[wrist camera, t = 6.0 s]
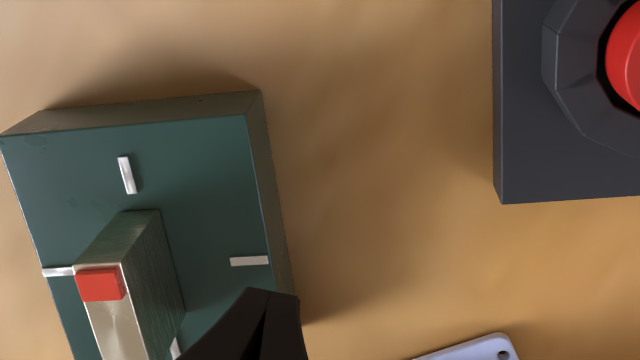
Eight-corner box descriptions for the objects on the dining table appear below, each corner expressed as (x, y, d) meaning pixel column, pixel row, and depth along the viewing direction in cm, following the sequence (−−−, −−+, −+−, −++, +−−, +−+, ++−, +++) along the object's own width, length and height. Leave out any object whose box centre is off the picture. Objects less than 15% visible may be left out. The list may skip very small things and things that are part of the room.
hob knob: (186, 314, 23) (152, 386, 20) (146, 316, 24) (106, 387, 20) (159, 208, 22) (117, 266, 18) (117, 211, 22) (66, 270, 18)
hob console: (300, 328, 27) (291, 378, 24) (110, 336, 28) (79, 385, 25) (261, 88, 23) (244, 115, 20) (37, 110, 24) (-9, 138, 21)
